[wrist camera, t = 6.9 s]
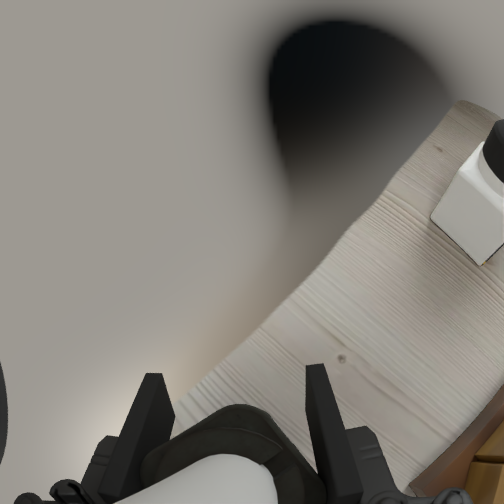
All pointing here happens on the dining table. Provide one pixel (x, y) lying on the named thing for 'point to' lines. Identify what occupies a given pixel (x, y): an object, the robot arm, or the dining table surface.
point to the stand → (471, 460)
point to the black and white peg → (229, 464)
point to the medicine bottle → (477, 200)
